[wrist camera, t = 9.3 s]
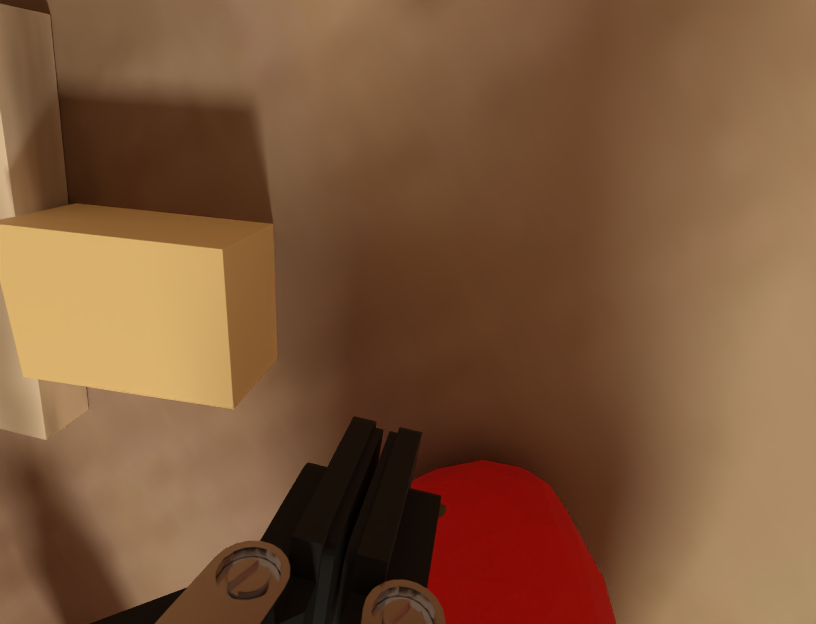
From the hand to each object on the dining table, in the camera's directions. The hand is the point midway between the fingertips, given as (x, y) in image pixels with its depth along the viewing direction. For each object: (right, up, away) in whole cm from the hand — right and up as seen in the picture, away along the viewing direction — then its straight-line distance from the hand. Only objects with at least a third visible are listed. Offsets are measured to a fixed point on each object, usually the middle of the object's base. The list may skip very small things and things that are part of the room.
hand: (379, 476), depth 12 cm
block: (-11, +5, +13) cm, 18 cm away
